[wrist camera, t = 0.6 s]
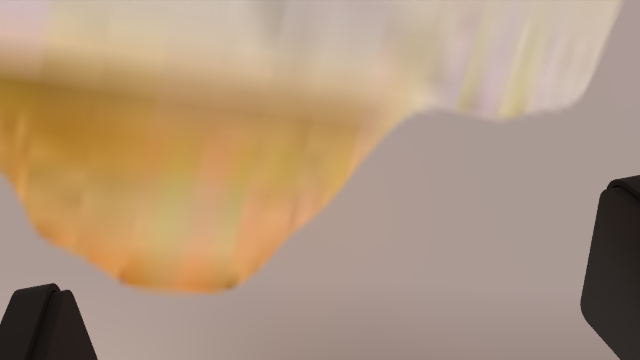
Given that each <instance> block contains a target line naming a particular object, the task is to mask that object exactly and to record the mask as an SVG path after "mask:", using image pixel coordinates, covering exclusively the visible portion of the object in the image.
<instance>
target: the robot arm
mask: <svg viewBox="0 0 640 360" xmlns="http://www.w3.org/2000/svg"><path fill="white" fill-rule="evenodd" d="M580 305H581V311H582V314H583V316H584V318H585V320H586V321H587V322H588V324H589V325H590V326H591V327H592V328H593V329H594V330H595V331H596V332H597V334H598V335H599V336H600V337H601V338H602V339H603V340H604V342H606V344H607V345H608V346H609V347H610V348H611V349H612V350H613V351H614V353H615V354H616V355H617V356H618V357H619V358H620V360H640V175H637V176H632V177H627V178H621V179H616V180H613V181H611V182H610V183H609V185H608V186H607V189H606V190H604V191H603V192H602V193H601V195H600V199H599V204H598V210H597V215H596V221H595V226H594V231H593V237H592V242H591V247H590V253H589V258H588V265H587V269H586V275H585V280H584V286H583V291H582V296H581V304H580ZM0 360H98V359H97V356H96V354H95V351H94V348H93V346H92V343H91V340H90V338H89V335H88V333H87V330H86V327H85V325H84V322H83V319H82V316H81V314H80V311H79V309H78V306H77V303H76V301H75V298H74V296H73V294H72V292H71V291H70V290H64V291H60V289H59V287H58V286H57V285H56V284H54V283H52V284H46V285H41V286H36V287H30V288H24V289H19V290H16V291H15V292H14V293H13V295H12V297H11V300H10V302H9V304H8V307H7V309H6V312H5V314H4V316H3V319H2V321H1V324H0Z"/></svg>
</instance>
